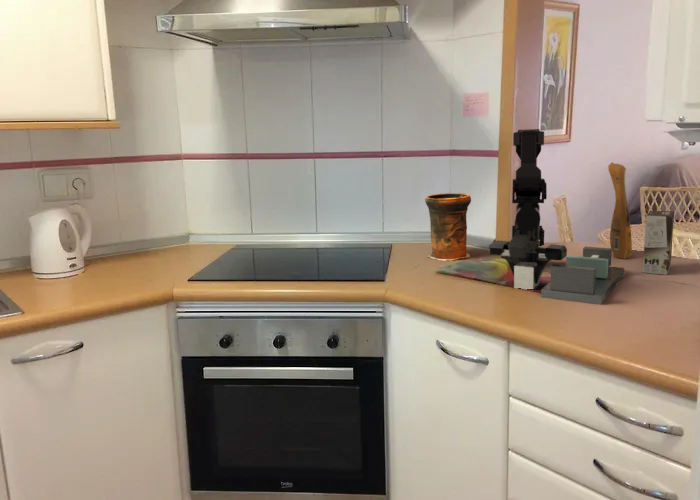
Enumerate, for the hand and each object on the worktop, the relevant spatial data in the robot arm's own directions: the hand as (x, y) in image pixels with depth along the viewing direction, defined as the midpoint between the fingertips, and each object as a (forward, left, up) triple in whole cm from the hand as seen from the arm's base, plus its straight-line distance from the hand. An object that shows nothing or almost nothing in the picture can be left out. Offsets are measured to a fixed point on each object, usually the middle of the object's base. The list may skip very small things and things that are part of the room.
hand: (526, 282), depth 159 cm
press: (+13, +7, -1) cm, 15 cm away
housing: (0, 0, -1) cm, 1 cm away
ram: (+13, +15, +1) cm, 20 cm away
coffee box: (+27, +30, -2) cm, 40 cm away
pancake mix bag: (+14, +47, -1) cm, 49 cm away
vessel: (-33, +24, -2) cm, 41 cm away
